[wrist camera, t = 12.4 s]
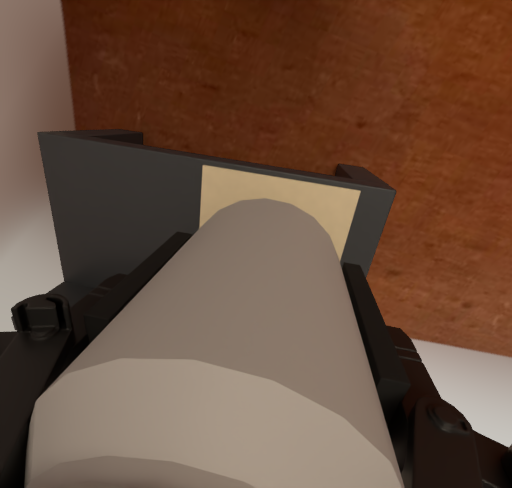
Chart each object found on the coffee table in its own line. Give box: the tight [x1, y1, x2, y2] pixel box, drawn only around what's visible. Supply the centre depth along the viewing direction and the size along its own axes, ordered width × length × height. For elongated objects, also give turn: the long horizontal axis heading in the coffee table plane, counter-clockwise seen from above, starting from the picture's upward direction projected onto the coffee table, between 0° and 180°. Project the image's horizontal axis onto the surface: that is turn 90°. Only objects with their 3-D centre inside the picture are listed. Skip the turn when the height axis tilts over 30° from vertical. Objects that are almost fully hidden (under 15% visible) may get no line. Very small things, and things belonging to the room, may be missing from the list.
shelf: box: [11, 129, 396, 330], centre depth 19 cm, size 20×11×12 cm, turn 82°
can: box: [24, 198, 405, 488], centre depth 9 cm, size 8×8×12 cm
